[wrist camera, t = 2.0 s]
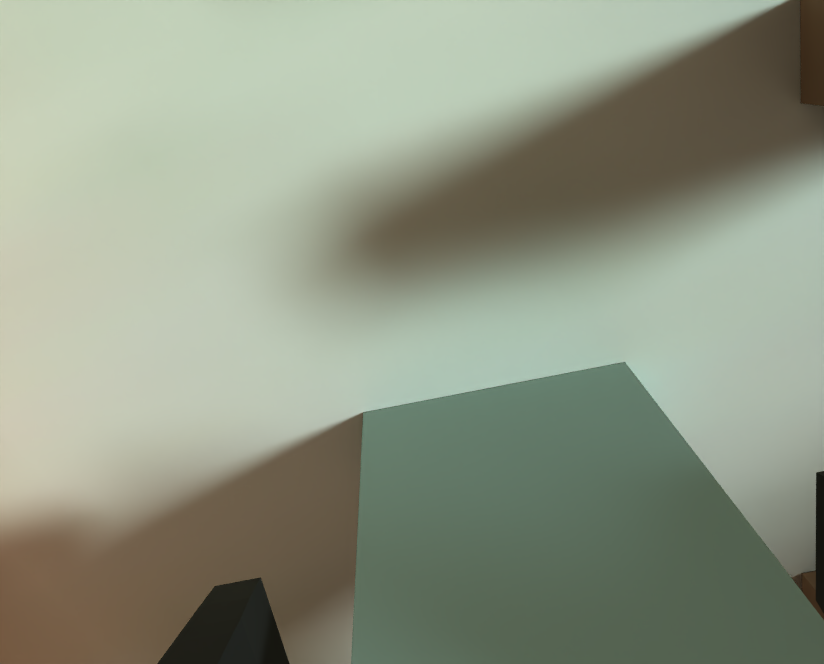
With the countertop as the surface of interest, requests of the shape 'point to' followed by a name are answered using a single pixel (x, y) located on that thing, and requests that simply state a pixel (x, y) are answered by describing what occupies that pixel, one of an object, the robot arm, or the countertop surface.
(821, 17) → the domino
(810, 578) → the domino
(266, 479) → the countertop surface
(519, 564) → the domino
